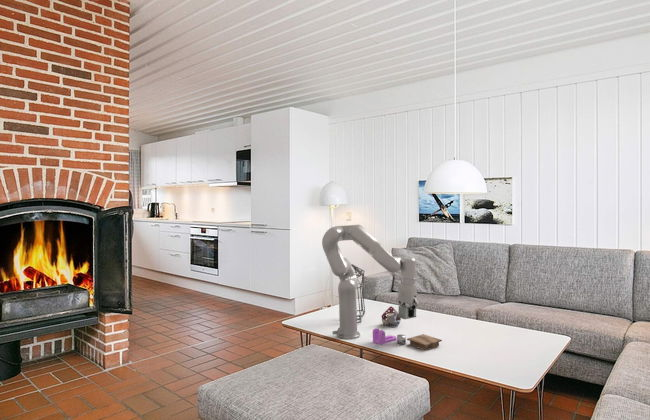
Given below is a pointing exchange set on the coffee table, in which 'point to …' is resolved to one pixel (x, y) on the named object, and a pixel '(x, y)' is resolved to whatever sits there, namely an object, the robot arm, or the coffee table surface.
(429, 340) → the stand
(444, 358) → the coffee table surface
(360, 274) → the geometric lantern
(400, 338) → the knob
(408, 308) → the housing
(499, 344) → the coffee table surface
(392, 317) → the brake caliper
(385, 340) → the bracket
